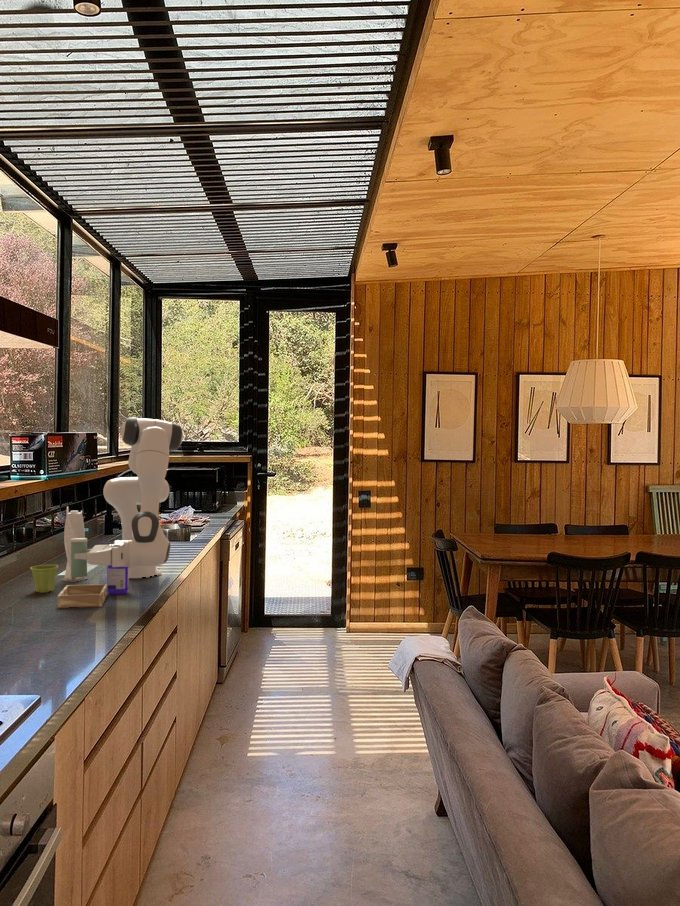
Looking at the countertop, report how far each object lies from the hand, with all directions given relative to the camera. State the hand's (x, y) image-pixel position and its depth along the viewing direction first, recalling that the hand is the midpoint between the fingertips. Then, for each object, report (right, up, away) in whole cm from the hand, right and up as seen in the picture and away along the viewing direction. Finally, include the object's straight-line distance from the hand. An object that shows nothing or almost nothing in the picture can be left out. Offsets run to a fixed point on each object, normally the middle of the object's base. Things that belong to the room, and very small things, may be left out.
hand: (76, 554), depth 256 cm
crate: (+1, -16, +5) cm, 17 cm away
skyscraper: (-16, -15, +43) cm, 49 cm away
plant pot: (-19, -16, +22) cm, 33 cm away
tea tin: (+1, -7, 0) cm, 7 cm away
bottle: (+8, -16, +18) cm, 26 cm away
